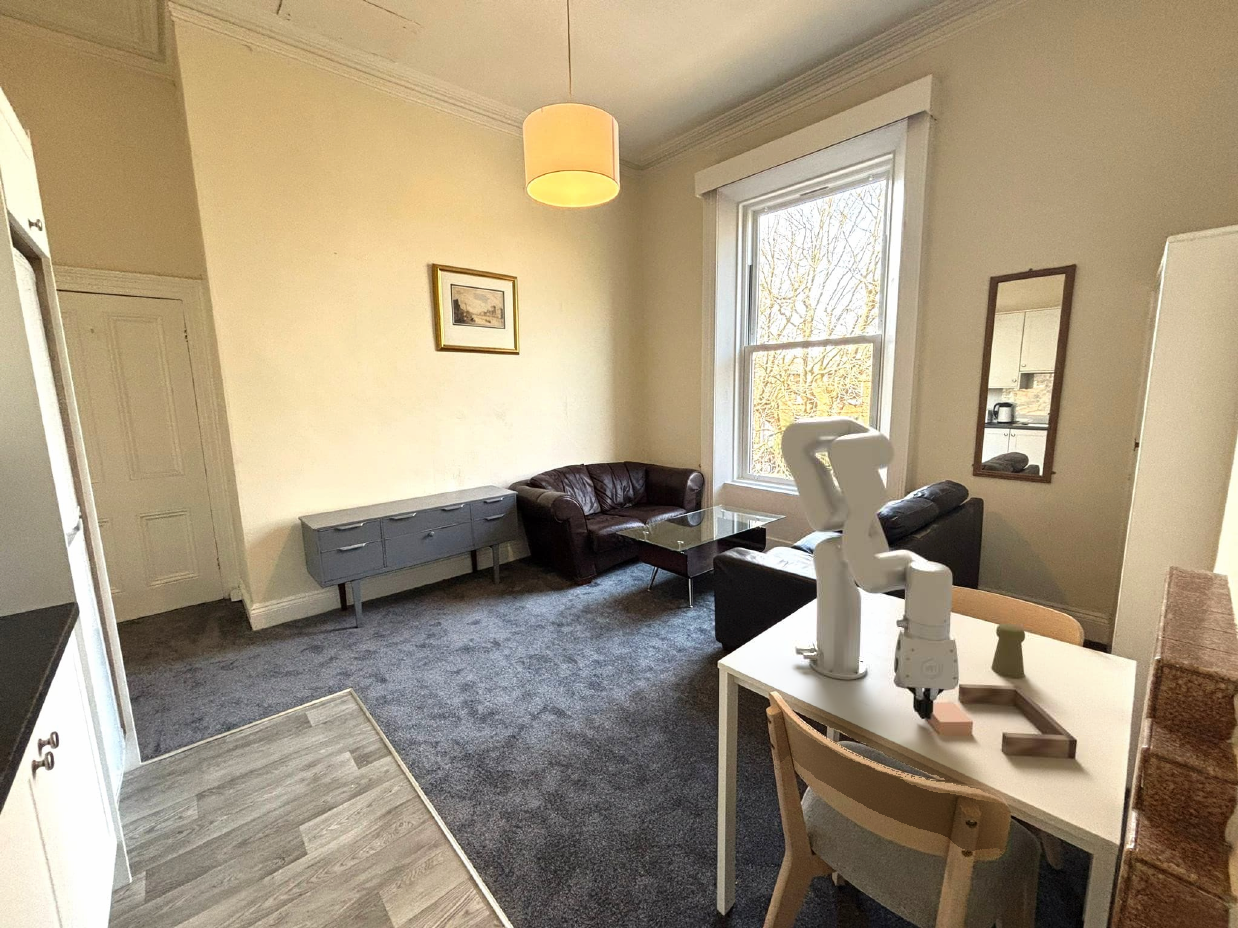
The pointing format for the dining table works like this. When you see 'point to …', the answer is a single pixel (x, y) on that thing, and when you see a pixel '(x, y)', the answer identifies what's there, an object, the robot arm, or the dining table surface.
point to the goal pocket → (1042, 745)
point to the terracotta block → (950, 719)
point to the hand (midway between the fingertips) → (922, 714)
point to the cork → (1009, 651)
